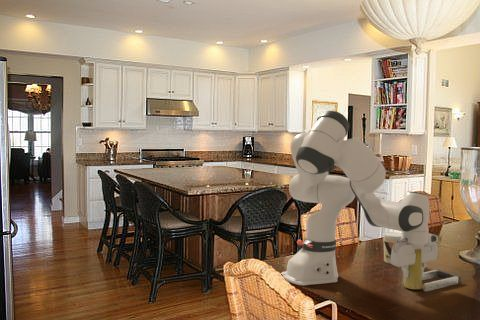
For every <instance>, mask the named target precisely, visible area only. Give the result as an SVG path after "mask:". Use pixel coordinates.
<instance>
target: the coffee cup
mask: <svg viewBox="0 0 480 320" xmlns="http://www.w3.org/2000/svg"><path fill="white" fill-rule="evenodd" d="M382 237H383V238H382V239H383V261H384V262H385V263H387V264H389V265H390V264H391V252H392V247H393V244H394V243H395V242H396V240H398V239H401V238H402V232H396V231H386V232H384V233H383V234H382ZM396 243H397V242H396ZM391 265H392V264H391Z"/></svg>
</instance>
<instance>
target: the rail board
mask: <svg viewBox="0 0 480 320" xmlns="http://www.w3.org/2000/svg"><path fill="white" fill-rule="evenodd" d="M435 278H440V279H439V280H433V281H430V282H426V283H423V287H422V289H423V291H424V292H430V291H434V290H438V289H441V288H447V287H450V286H455V285H458V284H461V282H462V276H460V275H457V274H454V273H451V272H447V271H444V270H441V269H439V268H438V269H433V270H429V271H424V273H423V274H422V281H426V280H430V279H435ZM404 280H405V277H404V276H403V281H404Z"/></svg>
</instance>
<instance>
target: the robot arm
mask: <svg viewBox="0 0 480 320" xmlns="http://www.w3.org/2000/svg"><path fill="white" fill-rule="evenodd" d="M349 128H350V123H349V120H348V118H347V117H346V116H345V115H344V114H342V113H340V112H338V111H336V110H326V111H324V112H323V113H322V114H320V116H318V118H317V119H316V121H315V122H314V124H313V125H312V126H311V127H310V129H309V131H308V132H301V133H298V134H297V135H295V136H293V138H292V140H291V142H290V154H291V156H292V160H293V163H294V166H295V168H296V170H297V174H295V175H294V176H293V177H292V178H291V180H290V181H289V184H288V191H289V195H290V196H291V197H292V199H293V200H297V201H299V202H300V201H301V202H303V203H311V204H312V203H314V204H321V208H320V210H318V211H315V212H313V213H311V214H310V215H308V217H307V218H306V221H305V222H306V226H305V227H306V228H305V229H306V230H305V238H304V239H303V240H301V239H297V241H296V243H297V245H298V246H301V249H299V250H298V251H297V252H296V253H295V254H294V255H293V256H292V257H291V258H290V259H289V260H288V261H287V266H286V271H285V270H284V271H282V272H281V273H280V275H281V274H282V275H283V277H284V278H285V279H286V280H285V279H284V280H285V281H287V282H289V283H291V284H294V285H298V286H309V285H310V286H311V285H321V284H322V285H323V284H330V283H331V284H333V283H337V282H338V279H339V274H338V273H339V272H338V269H337V261H336V260H337V259H336V250H337V239H336V229H337V228H336V227H337V220H338V218H339V215H340V213H341V212H342V211H343V209H345V207H347V206H348V205H349V204H351V203H353V201H354V200H355V199H356V200H357V201H358V203H359V205H360V206H361V208H362V210H363V212H364V216H365V219H366V222H367V223H368V224H369V225H370V226H372V227H377V228H383V229H389V230H392V231H393V230H394V231H399V232H401V233H402V238H401V239H398V240H396V242H397V243H396V242H395V243H394V244H393V247H392V252H391V265H392V266H394V267H396V268H397V267H398V268H399V267H400V268H401V270H402V277H403V278H404V277H406V278H407V277H410V272H408V269H407V268H408V267H409V265H413V264H415V259H416V253H415V249H421V264H422V274H423V273H424V272H425V268H426V266H427V263H429V262H434V261H436V259H437V256H438V243H437V242H438V241H439V236H438V235H436V234H432V233H430V232H429V224H428V223H429V220H430V201H429V197H428V196H427V195H426V193H422V192H417V191H406V192H405V193H404V197H403V198H402V199H401V200H399V201H394V200H392V201H391V200H386V199H382V198H379V197H377V196H376V194H375V193H374V192H375V191H377V190H378V189H380V188H381V187H382V185H383V184H384V182H385V179H386V175H387V174H386V169H385V167H384V164H383V163H382V162H381V160H380V159H379V157H378V156H377V154H375V153H374V152H373V150H372V149H371V147H369V146H368V145H367V144H366V143H365V142H363V141H362V140H361V139H358V138H354V137H352V138H348V139H346V137H347V135H348V133H349V130H350V129H349ZM345 139H346V140H345ZM335 166H336V167H337V168H340V169H341V171H342V172H344V174H345V176H342V175H334V174H332V175H331V174H330V173H331V172H333V171H334V170H335Z"/></svg>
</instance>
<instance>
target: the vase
mask: <svg viewBox="0 0 480 320" xmlns="http://www.w3.org/2000/svg"><path fill="white" fill-rule="evenodd" d="M415 253H416V259H415V264H413V265H409V267H408V268H407V269H408V272H410V277H407V278H406V277H405V280H404V279H403V286H404V287H405V288H407V289H410V290H421V289H423V280H422V264H421V249H415Z"/></svg>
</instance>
